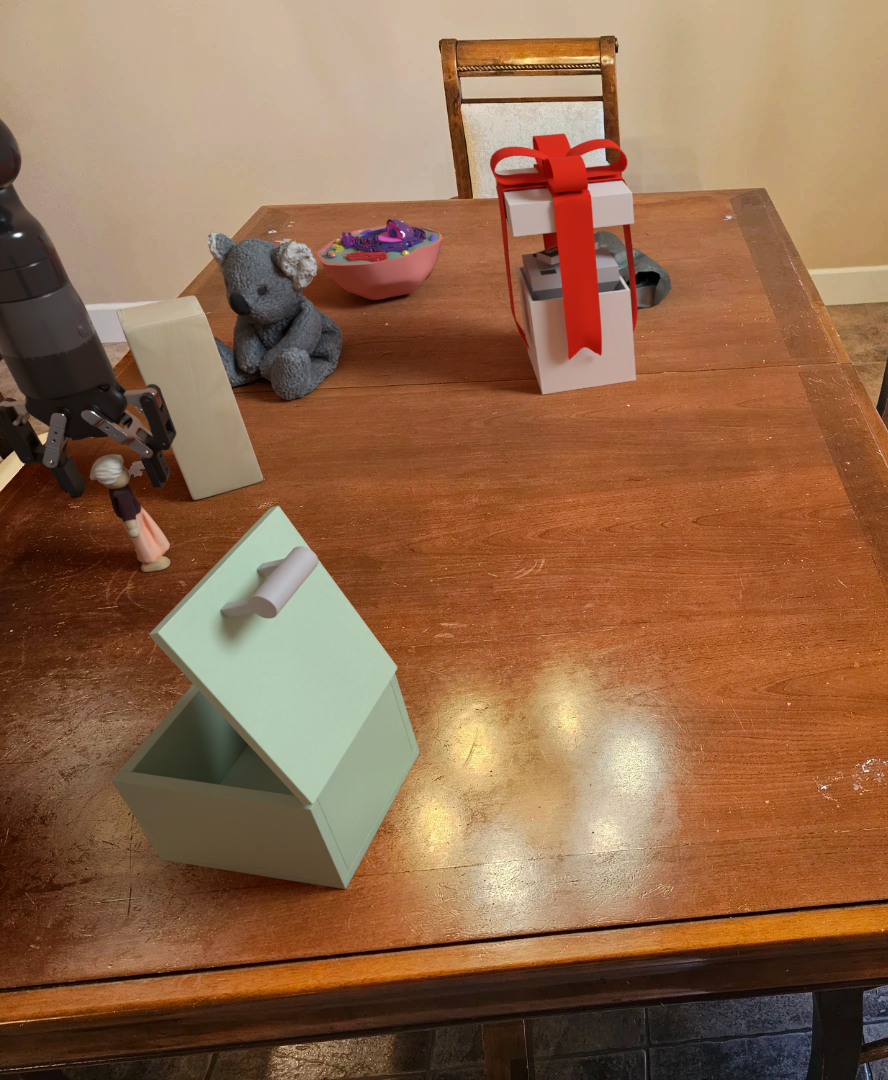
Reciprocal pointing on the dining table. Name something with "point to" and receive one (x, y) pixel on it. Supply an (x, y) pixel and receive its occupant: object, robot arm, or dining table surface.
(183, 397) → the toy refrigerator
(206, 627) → the lid
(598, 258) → the white gift box
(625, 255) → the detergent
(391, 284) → the cell model
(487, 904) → the dining table surface
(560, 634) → the dining table surface
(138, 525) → the grandmother figurine
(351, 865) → the compartment
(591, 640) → the dining table surface
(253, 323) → the koala plush
